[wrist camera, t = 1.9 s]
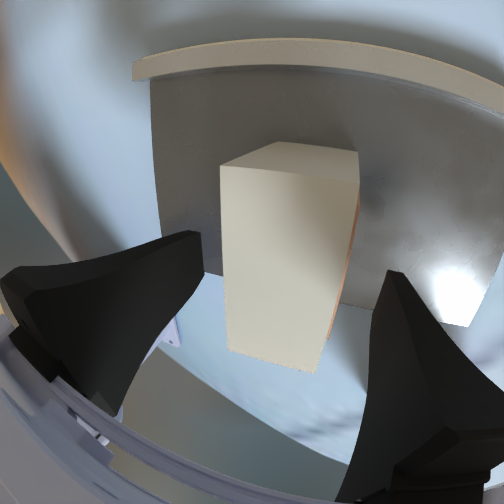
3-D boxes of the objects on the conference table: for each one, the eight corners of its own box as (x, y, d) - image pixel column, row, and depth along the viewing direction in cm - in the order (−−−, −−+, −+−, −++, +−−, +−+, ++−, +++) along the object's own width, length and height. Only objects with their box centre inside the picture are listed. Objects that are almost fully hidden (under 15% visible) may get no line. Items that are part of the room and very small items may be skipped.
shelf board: (174, 254, 21) (153, 273, 19) (162, 61, 14) (132, 59, 11) (463, 314, 14) (472, 343, 12) (522, 108, 7) (548, 111, 5)
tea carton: (270, 274, 17) (227, 349, 12) (277, 141, 13) (219, 165, 8) (337, 288, 16) (318, 374, 11) (361, 152, 12) (365, 184, 7)
